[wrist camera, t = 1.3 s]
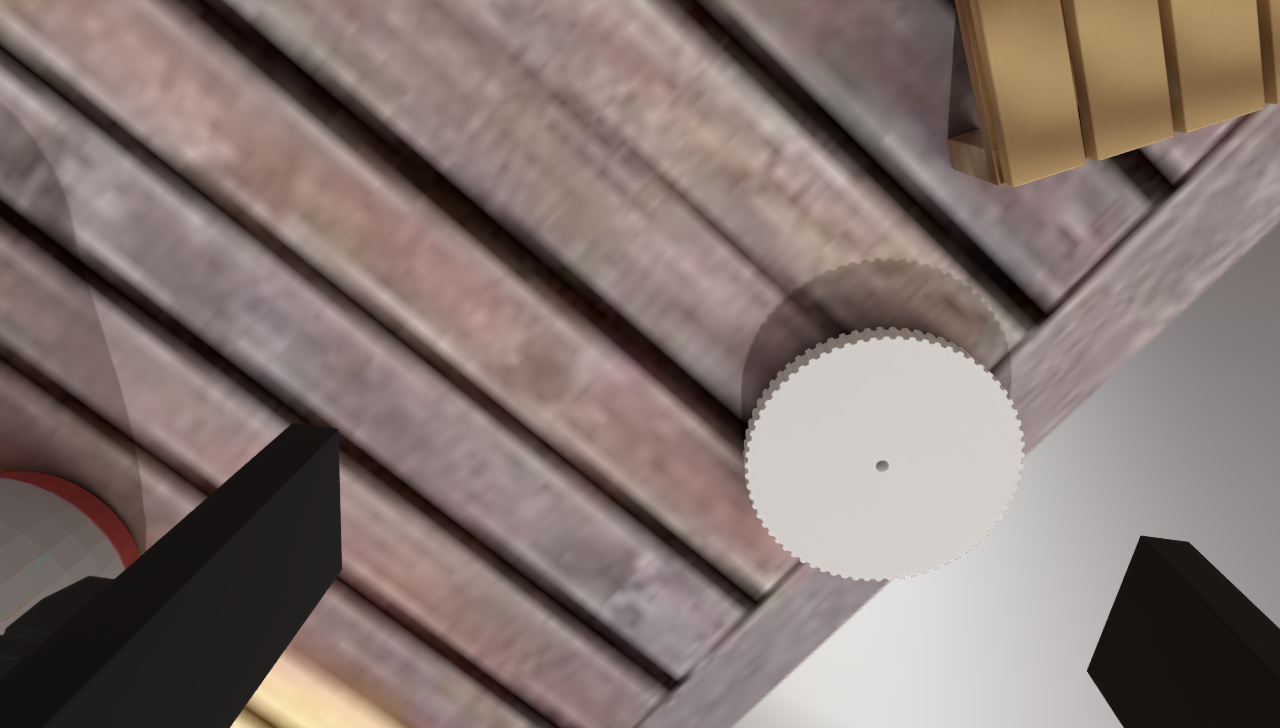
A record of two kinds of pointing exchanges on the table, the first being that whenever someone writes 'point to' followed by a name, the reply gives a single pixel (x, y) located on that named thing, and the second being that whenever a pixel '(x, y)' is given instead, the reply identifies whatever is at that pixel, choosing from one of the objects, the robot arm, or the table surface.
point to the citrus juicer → (53, 540)
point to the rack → (1106, 77)
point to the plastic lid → (882, 454)
